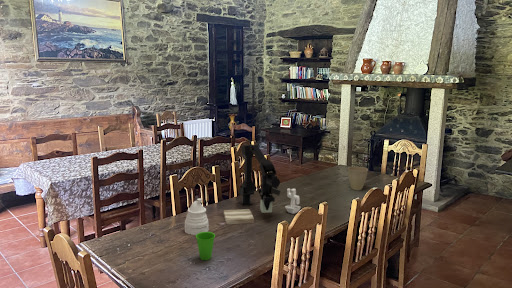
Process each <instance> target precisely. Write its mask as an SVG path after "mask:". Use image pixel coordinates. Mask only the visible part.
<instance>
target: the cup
mask: <svg viewBox="0 0 512 288" xmlns="http://www.w3.org/2000/svg"><path fill="white" fill-rule="evenodd" d="M215 237H216V234H215V233H214V232H212V231H208V232H200V233H198V234H197V235H195V238H196V243H197V248H198V249H197V250H198V253H199V254H198V255H199V258H200V260H202V261H208V260H210V259H211V258H212V254H213V248H214V242H215Z"/></svg>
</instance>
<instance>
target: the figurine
mask: <svg viewBox="0 0 512 288" xmlns="http://www.w3.org/2000/svg"><path fill="white" fill-rule="evenodd" d="M286 196H287V198H290V204H287V205H285V206H284V208H285V210H286V211H287V213H289V214H292V215H294V214H296V213H299V211H300V209H301V208H302V207H301V206H299V205H300V200H301V199H300V195H297V190H296V188H287V189H286Z"/></svg>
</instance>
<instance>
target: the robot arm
mask: <svg viewBox="0 0 512 288" xmlns="http://www.w3.org/2000/svg"><path fill="white" fill-rule="evenodd" d="M240 150H241V155H242V157H243V158H244V163H243V165H244V167H243V169H244V174H243V175H244V176H243V177H244V179H243V182H242V183H241V188H240V189H239V190H238V193H239V196H241V199H242V200H241V201H240V202H241V205H242V206H247V205H248V206H249V205H253V203H252V200H251V199H252V195H254V194H255V192H256V183H254V181H253V157H254V158H256V160H257V162H258V163H259V166H258V167H259V169H260V171H261V173H260V175H261V185H260V186H261V187H260V188H258V194H259V197H260V200H263V202H264V205H265V208H266V210H268V209H269V205H270V203H271V202H272V203H273V202H275V200H276V198H275V196H274V195H276V196H280V195H281V192H282V190H281V189H280V188H278V187H279V186H280V184H281V181H280V178H278V176H277V170H276V168H275V165H274V163H273V162H272V161H271V160H269V159H267V158H266V156H265V155H264V153H263V152H262V150H261V148H260V146H259V144H243V145H242V146H241V148H240Z"/></svg>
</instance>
